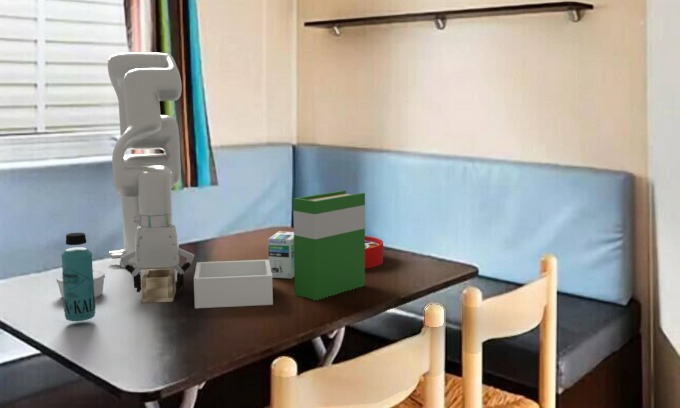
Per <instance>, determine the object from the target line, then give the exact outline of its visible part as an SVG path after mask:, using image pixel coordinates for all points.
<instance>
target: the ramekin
mask: <svg viewBox="0 0 680 408" xmlns="http://www.w3.org/2000/svg"><path fill="white" fill-rule="evenodd" d="M105 275H106V274H105V272H104V271H102V270H98V269H93V281H94V288H95V289H94V296H95V297H94V298H95V299H96V298H98V297H100V296H101V294H103V290H104V282H105V277H106V276H105ZM56 283H57V285H58V289H59V292H60V296H61V297H62V299H64V291H63V287H62V286H63V275H62V273H61V274H59V275H58V276H56Z"/></svg>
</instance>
